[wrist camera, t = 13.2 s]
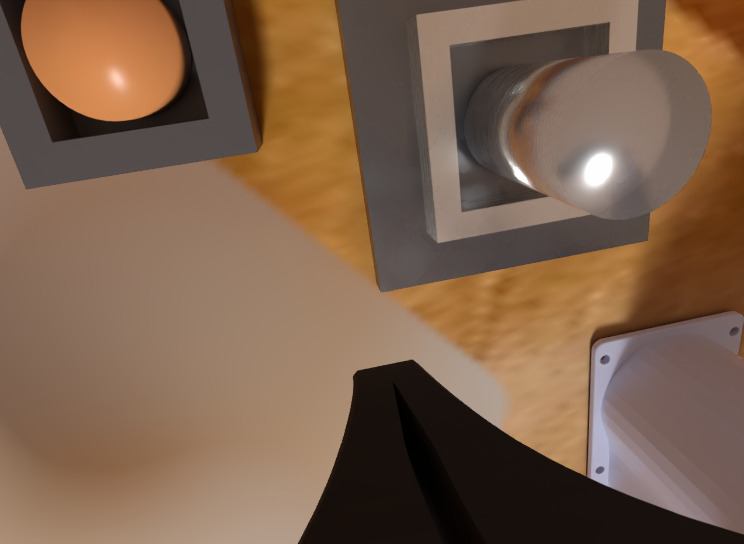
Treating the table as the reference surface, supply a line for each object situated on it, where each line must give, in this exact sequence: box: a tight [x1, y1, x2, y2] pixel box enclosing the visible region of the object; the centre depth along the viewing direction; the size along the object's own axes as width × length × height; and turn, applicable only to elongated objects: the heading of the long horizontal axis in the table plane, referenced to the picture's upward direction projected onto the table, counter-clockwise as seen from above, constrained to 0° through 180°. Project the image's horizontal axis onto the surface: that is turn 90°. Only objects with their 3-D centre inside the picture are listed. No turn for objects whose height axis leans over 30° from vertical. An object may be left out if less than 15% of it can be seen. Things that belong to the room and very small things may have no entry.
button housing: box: [0, 0, 263, 189], centre depth 15 cm, size 7×7×3 cm
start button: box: [21, 0, 191, 121], centre depth 14 cm, size 4×4×2 cm
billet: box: [464, 49, 712, 220], centre depth 15 cm, size 4×4×7 cm
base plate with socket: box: [335, 0, 666, 292], centre depth 18 cm, size 12×12×2 cm
